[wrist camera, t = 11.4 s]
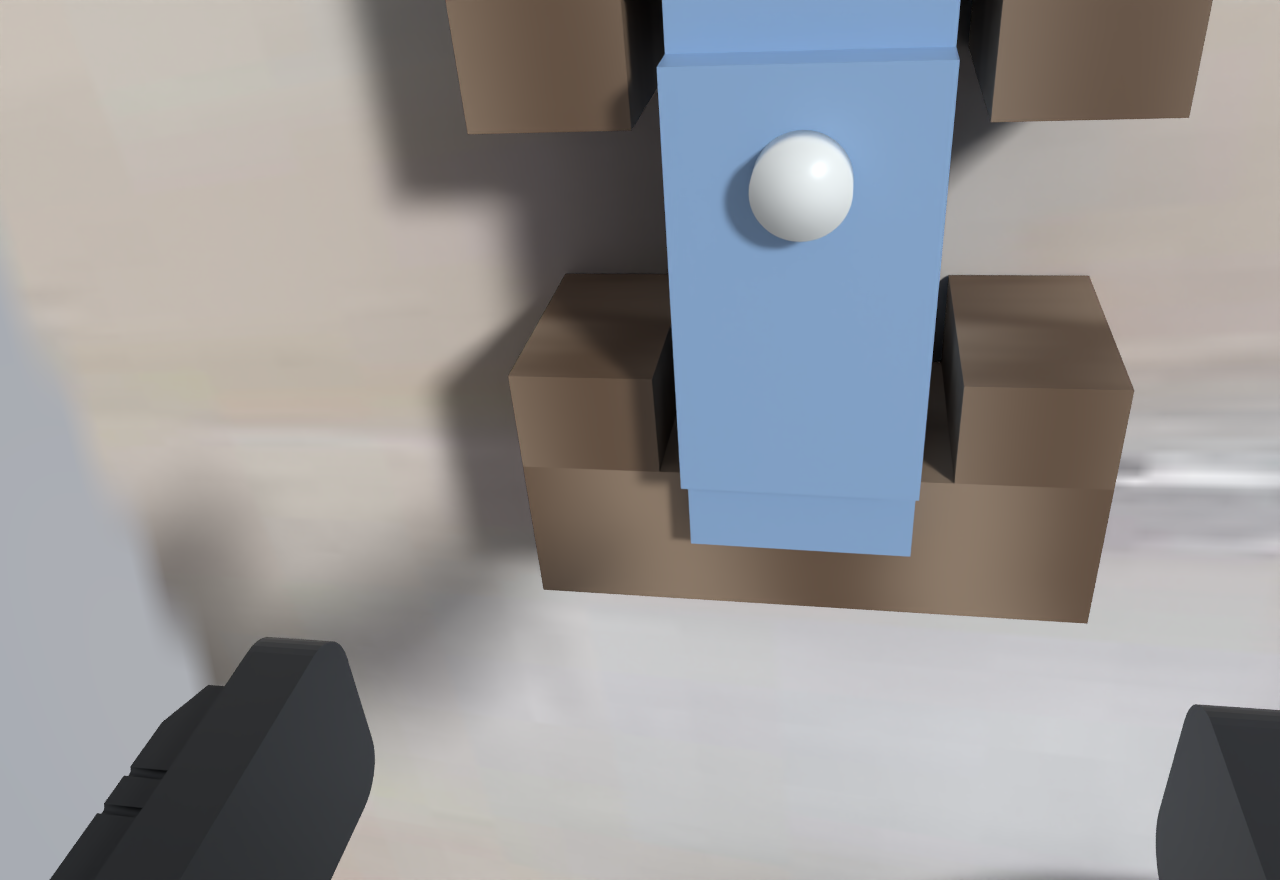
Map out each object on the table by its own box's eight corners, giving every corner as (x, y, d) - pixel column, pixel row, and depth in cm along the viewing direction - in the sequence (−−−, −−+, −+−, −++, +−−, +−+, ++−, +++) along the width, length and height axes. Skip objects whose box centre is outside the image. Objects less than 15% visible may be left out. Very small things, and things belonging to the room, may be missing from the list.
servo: (719, 413, 27) (680, 587, 21) (702, -124, 20) (640, -70, 15) (904, 420, 26) (912, 602, 21) (947, -138, 19) (977, -86, 14)
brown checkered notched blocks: (589, 468, 29) (543, 589, 25) (499, -252, 20) (404, -246, 16) (1054, 486, 27) (1087, 623, 23) (1185, -316, 18) (1279, -329, 14)
